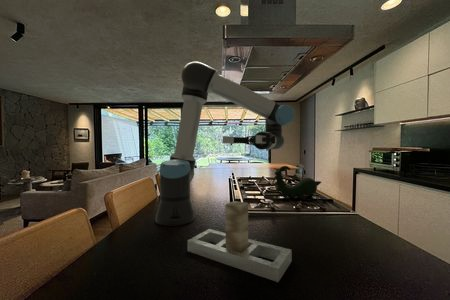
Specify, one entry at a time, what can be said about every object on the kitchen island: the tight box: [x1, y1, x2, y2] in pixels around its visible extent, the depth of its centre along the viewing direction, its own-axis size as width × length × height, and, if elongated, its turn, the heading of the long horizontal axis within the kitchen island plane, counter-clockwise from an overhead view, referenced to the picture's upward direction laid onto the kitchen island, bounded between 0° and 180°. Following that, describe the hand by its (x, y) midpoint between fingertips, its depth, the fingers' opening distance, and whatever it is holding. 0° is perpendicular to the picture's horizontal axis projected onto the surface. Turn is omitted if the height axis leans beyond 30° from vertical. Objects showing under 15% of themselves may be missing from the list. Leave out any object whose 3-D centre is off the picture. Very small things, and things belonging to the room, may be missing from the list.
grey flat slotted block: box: [186, 228, 293, 283], centre depth 58 cm, size 26×10×3 cm, turn 57°
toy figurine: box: [274, 165, 322, 199], centre depth 122 cm, size 10×19×26 cm
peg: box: [224, 200, 249, 253], centre depth 58 cm, size 4×4×14 cm
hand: (239, 139), depth 77 cm, fingers open, 13 cm apart
